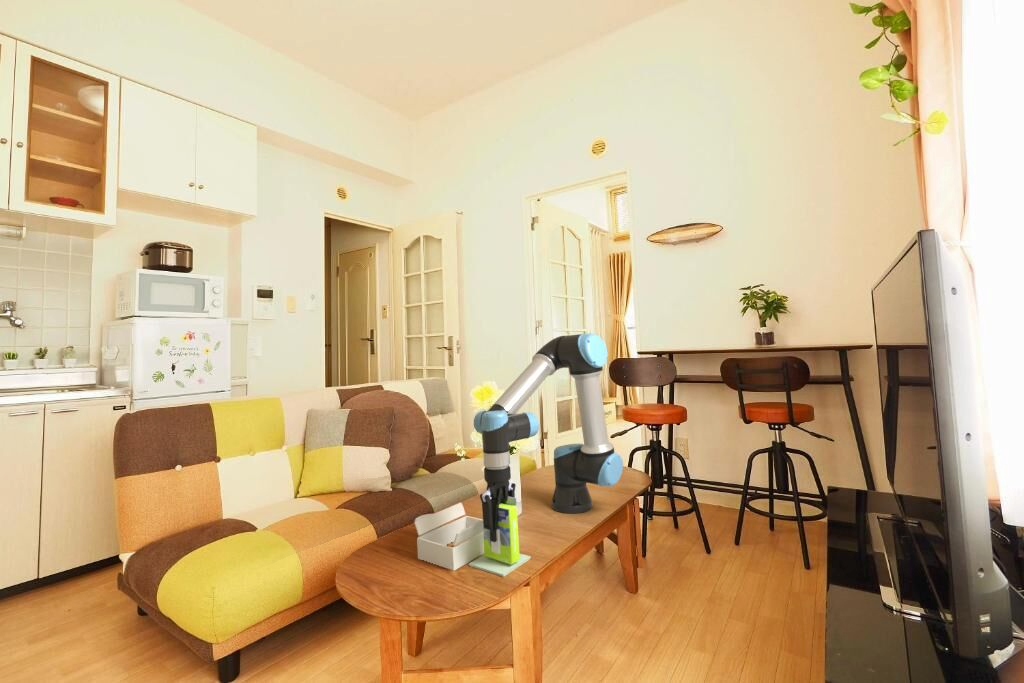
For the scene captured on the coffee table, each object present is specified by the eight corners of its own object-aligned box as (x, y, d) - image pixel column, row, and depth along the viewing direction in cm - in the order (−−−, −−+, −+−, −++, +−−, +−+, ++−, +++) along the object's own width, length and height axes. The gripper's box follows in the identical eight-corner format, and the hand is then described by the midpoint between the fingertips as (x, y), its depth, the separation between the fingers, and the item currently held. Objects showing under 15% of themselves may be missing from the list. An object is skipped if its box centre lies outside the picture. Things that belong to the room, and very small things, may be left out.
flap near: (498, 521, 144) (501, 510, 143) (499, 522, 144) (503, 511, 143) (453, 544, 128) (456, 532, 127) (454, 545, 128) (458, 533, 127)
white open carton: (466, 533, 153) (465, 515, 153) (501, 543, 144) (500, 523, 144) (417, 558, 136) (416, 538, 136) (453, 570, 127) (452, 548, 128)
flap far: (464, 514, 153) (460, 502, 154) (465, 514, 153) (461, 502, 154) (418, 535, 137) (413, 522, 138) (419, 535, 137) (414, 521, 138)
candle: (414, 535, 154) (413, 516, 155) (441, 530, 157) (440, 512, 157) (417, 545, 146) (416, 525, 146) (445, 540, 149) (444, 520, 149)
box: (483, 556, 132) (480, 495, 133) (493, 551, 136) (490, 492, 136) (511, 565, 126) (508, 501, 126) (521, 560, 129) (517, 497, 129)
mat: (496, 549, 140) (496, 547, 140) (530, 558, 132) (530, 556, 132) (468, 565, 130) (468, 563, 130) (503, 576, 122) (503, 574, 122)
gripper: (505, 458, 140) (509, 535, 140) (466, 471, 127) (471, 557, 126) (525, 460, 136) (529, 540, 135) (487, 475, 122) (492, 564, 122)
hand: (501, 548), depth 131 cm, fingers closed on box, 4 cm apart
